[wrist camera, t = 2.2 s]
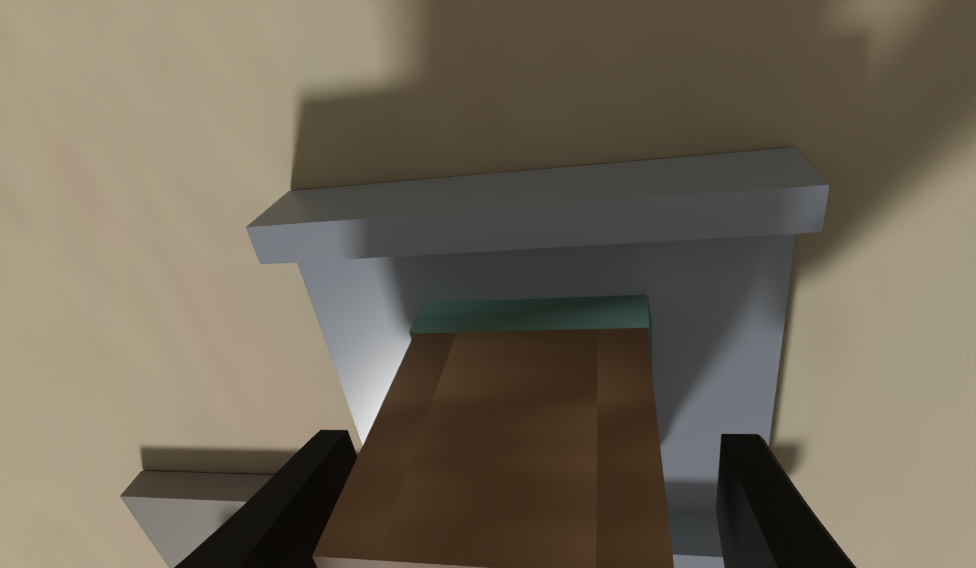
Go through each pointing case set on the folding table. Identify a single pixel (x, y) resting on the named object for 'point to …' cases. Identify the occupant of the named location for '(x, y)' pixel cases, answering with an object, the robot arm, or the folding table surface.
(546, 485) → the walnut sleeve
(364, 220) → the tray
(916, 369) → the folding table surface
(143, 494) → the pin board
